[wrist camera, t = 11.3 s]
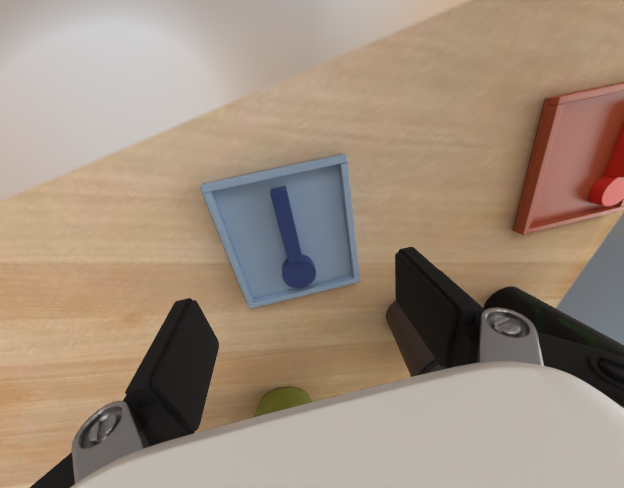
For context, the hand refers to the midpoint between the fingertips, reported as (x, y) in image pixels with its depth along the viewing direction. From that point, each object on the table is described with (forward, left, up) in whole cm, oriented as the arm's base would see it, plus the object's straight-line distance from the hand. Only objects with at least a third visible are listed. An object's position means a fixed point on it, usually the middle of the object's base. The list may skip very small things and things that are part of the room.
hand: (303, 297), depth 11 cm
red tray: (+1, +31, -12) cm, 33 cm away
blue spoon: (+2, 0, -12) cm, 12 cm away
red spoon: (+1, +34, -12) cm, 36 cm away
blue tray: (+2, 0, -12) cm, 13 cm away
